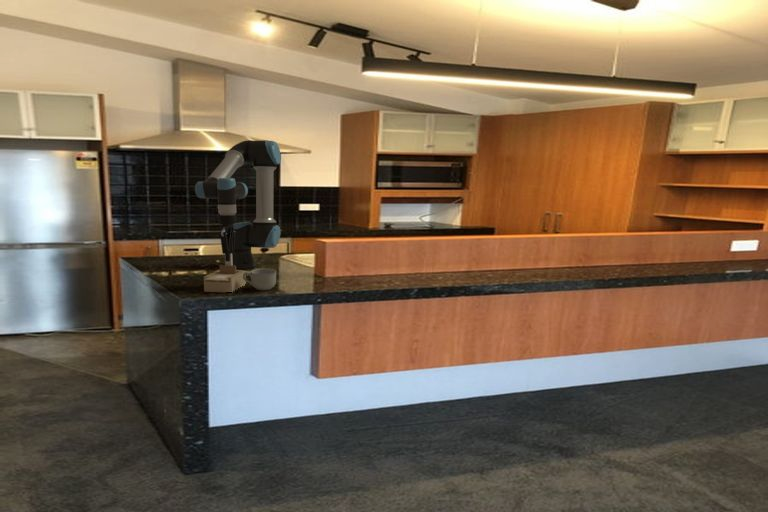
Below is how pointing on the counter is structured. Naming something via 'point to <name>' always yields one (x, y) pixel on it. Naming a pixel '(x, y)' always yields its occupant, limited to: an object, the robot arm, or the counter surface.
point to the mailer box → (225, 283)
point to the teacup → (262, 278)
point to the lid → (223, 273)
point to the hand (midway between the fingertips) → (229, 268)
